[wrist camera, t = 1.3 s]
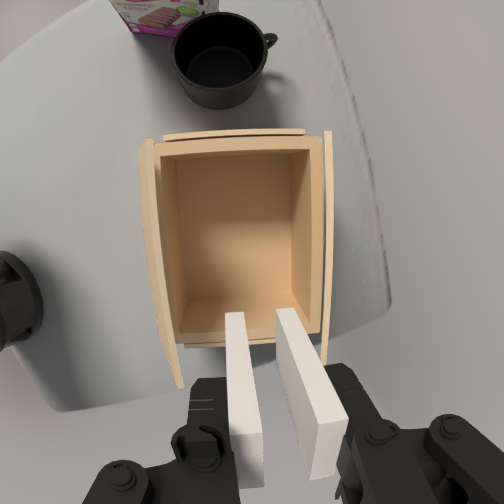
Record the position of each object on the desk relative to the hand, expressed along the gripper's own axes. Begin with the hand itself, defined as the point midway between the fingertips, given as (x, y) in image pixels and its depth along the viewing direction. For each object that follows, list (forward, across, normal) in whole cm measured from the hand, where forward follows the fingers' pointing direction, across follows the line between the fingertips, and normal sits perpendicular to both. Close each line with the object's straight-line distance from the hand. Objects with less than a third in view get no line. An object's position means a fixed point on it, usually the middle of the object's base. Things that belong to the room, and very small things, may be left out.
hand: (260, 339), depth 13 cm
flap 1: (+12, -7, 0) cm, 14 cm away
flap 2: (+12, +7, 0) cm, 14 cm away
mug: (+27, 0, +20) cm, 33 cm away
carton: (+26, 0, 0) cm, 26 cm away
